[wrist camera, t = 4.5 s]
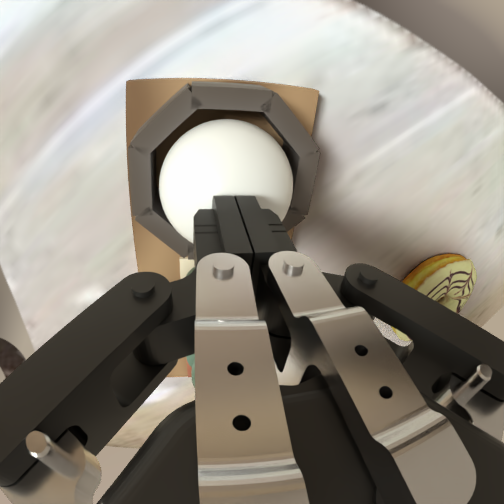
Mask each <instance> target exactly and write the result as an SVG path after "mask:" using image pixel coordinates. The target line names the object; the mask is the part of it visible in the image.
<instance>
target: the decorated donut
mask: <svg viewBox="0 0 504 504" xmlns="http://www.w3.org/2000/svg"><path fill="white" fill-rule="evenodd" d="M476 278H477V275H476V271H475V268H474V265H473V263H472V261H471V260H470V259H466V258H464V257H463V256H461V255H457V254H450V253H449V254H443V255H439V256H435V257H432V258H429V259H427V260H426V261H424V262H423V263H421V264H420V265H419V266H418V267H416V268H415V269H414V270H413V271H412V272H411V273H410V274H409V275H408V276H407V277H405V279H404V280H403V281H402V282H403V283H404V284H406V285H408V286H410V287H412V288H413V289H415V290H417V291H419V292H421V293H422V294H424V295H426V296H428V297H429V298H431V299H433V300H435V301H436V302H438V303H440V304H442V305H443V306H445V307H447V308H449V309H450V310H452V311H454V312H455V313H457V314H458V313H459V312H460V311H461V309H462V307H463V306H464V304H465V303H466V301H467V300H468V299H469V297H470V295H471V293H472V291H473V287H474V285H475V282H476ZM391 327H392V326H391ZM392 329H393V331H394V332H395V333H396V334H397V336H398V338H399V339H401V340H404V341H412V339H411V338H410V337H409V336H407V335H406V334H404V333H402V332H400V331H399V330H397V329H395V328H394V327H392Z"/></svg>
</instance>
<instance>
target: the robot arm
mask: <svg viewBox="0 0 504 504" xmlns="http://www.w3.org/2000/svg"><path fill="white" fill-rule="evenodd" d="M193 253H194V266H195V269H194V270H193V272H192V273H190V274H189V275H188V276H186V277H184V278H182V279H179V280H176V281H173V282H169V281H168V279H167V278H165V277H164V276H162V275H161V274H158V273H155V272H138V273H134V274H131V275H129V276H127V277H126V278H124V279H123V280H122V281H120V282H119V283H118V284H116V285H115V286H114V287H113V288H111V289H110V290H109V291H108V292H106V293H105V294H104V295H103V296H101V297H100V298H99V299H98V300H96V301H95V302H94V303H93V304H91V305H90V306H89V307H88V308H87V309H85V310H84V311H83V312H82V313H80V314H79V315H78V316H77V317H76V318H74V319H73V320H72V321H71V322H70V323H68V324H67V325H66V326H65V327H64V328H62V329H61V330H60V331H59V332H58V333H57V334H55V335H54V336H53V337H52V338H51V339H50V340H48V341H47V342H46V343H45V344H44V345H43V346H41V347H40V348H39V349H38V350H37V351H36V352H35V353H33V354H32V355H31V356H30V357H29V358H28V359H27V360H26V361H24V362H23V363H22V364H21V365H20V366H19V367H18V368H17V369H16V370H14V371H13V372H12V373H11V374H10V375H9V376H8V377H7V378H6V379H5V380H4V381H3V382H1V383H0V489H1V490H2V491H3V493H4V494H5V495H6V496H7V498H8V499H9V500H10V501H11V503H12V504H93V503H92V501H93V496H94V493H95V491H96V489H97V488H98V486H99V484H100V481H101V476H102V475H101V474H102V473H101V467H100V464H99V462H98V460H97V458H96V455H97V454H98V453H99V452H100V451H101V450H102V449H103V448H104V446H105V445H106V444H107V443H108V442H109V441H110V440H111V439H112V438H113V436H114V435H115V434H116V433H117V432H118V431H119V430H120V429H121V427H122V426H123V425H124V424H125V423H126V422H127V421H128V420H129V418H130V417H131V416H132V415H133V414H134V413H135V412H136V411H137V409H138V408H139V407H140V406H141V405H142V404H143V403H144V401H145V400H146V399H147V398H148V397H149V396H150V395H151V393H152V392H153V391H154V390H155V389H156V388H157V387H158V385H159V384H160V383H161V382H162V381H163V380H164V379H165V377H166V376H167V375H168V374H169V373H170V372H171V371H172V369H173V368H174V367H175V366H176V364H177V362H178V359H180V358H183V357H186V356H189V355H192V354H195V400H194V401H192V402H189V403H187V404H185V405H183V406H181V407H180V408H178V409H176V410H175V411H173V412H172V413H171V414H169V415H168V416H167V417H166V418H165V419H164V420H163V421H162V422H161V423H160V424H159V425H158V426H157V427H156V428H155V430H154V431H153V432H152V434H151V435H150V436H149V437H148V439H147V440H146V441H145V443H144V444H143V445H142V447H141V448H140V449H139V451H138V452H137V453H136V454H135V456H134V457H133V458H132V460H131V461H130V462H129V463H128V465H127V466H126V467H125V469H124V470H123V471H122V472H121V474H120V475H119V476H118V478H117V479H116V480H115V481H114V483H113V484H112V485H111V486H110V488H109V489H108V490H107V491H106V493H105V494H104V495H103V496H102V498H101V499H100V500H99V501H98V503H97V504H504V443H503V442H501V440H502V435H503V430H504V342H503V341H502V340H500V339H499V338H497V337H495V336H494V335H492V334H490V333H489V332H487V331H486V330H484V329H482V328H481V327H479V326H477V325H476V324H474V323H472V322H471V321H469V320H467V319H466V318H464V317H462V316H460V315H459V314H457V313H455V312H454V311H452V310H450V309H449V308H447V307H445V306H443V305H442V304H440V303H438V302H436V301H435V300H433V299H431V298H429V297H428V296H426V295H424V294H422V293H421V292H419V291H417V290H415V289H413V288H412V287H410V286H408V285H406V284H404V283H403V282H401V281H399V280H397V279H395V278H394V277H392V276H390V275H388V274H386V273H384V272H383V271H381V270H379V269H377V268H375V267H373V266H370V265H367V264H353V265H350V266H349V267H348V268H347V269H346V272H345V275H344V276H341V275H335V274H329V273H324V272H321V271H320V269H319V268H318V266H317V265H316V263H315V262H314V261H313V260H312V259H311V258H309V257H308V256H306V255H304V254H302V253H299V252H297V250H296V248H295V246H294V245H293V243H292V241H291V239H290V237H289V235H288V233H287V232H286V229H285V227H284V226H283V224H282V222H281V220H280V218H279V216H278V215H277V214H275V213H274V212H273V211H271V210H270V209H261V207H260V205H259V203H258V201H257V199H256V197H255V196H241V195H235V196H213V199H212V209H199V210H198V211H197V212H196V214H195V215H194V218H193ZM375 317H376V318H378V319H380V320H382V321H383V322H385V323H387V324H388V325H390V326H392V327H394V328H395V329H397V330H399V331H400V332H402V333H404V334H406V335H407V336H409V337H410V338H411V339H412V342H411V344H410V345H408V346H405V347H402V346H399V345H397V344H395V343H394V342H392V341H390V340H388V339H387V338H385V337H384V336H383V335H382V333H381V332H380V330H379V329H378V327H377V326H376V324H375V323H374V322H373V320H374V318H375Z"/></svg>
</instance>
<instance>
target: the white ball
mask: <svg viewBox="0 0 504 504" xmlns="http://www.w3.org/2000/svg"><path fill="white" fill-rule="evenodd" d="M292 193H293V176H292V170H291V167H290V164H289V161H288V158H287V156H286V154H285V152H284V151H283V149H282V148H281V146H280V145H279V144H278V142H277V141H276V140H275V139H274V138H273V137H272V136H271V135H269V134H268V133H267V132H266V131H264V130H263V129H261V128H259V127H258V126H256V125H253V124H251V123H248V122H245V121H241V120H234V119H219V120H212V121H209V122H205V123H202V124H200V125H198V126H196V127H194V128H192V129H191V130H189V131H187V132H186V133H185V134H184V135H182V136H181V137H180V138H179V139H178V140H177V141H176V142H175V143H174V145H173V146H172V147H171V149H170V150H169V152H168V154H167V156H166V158H165V160H164V162H163V165H162V168H161V172H160V177H159V194H160V200H161V204H162V207H163V210H164V212H165V214H166V216H167V218H168V220H169V221H170V223H171V224H172V226H173V227H174V228H175V229H176V231H177V232H178V233H179V234H181V235H182V236H183V237H184V238H186V239H187V240H188V241H190V242H191V243H193V218H194V215H195V214H196V212H197V211H198V210H199V209H212V199H213V196H235V195H241V196H255V197H256V199H257V201H258V203H259V205H260V207H261V209H270V210H271V211H273V212H274V213H275V214H277V215H278V216H279V218H280V220H281V222H282V221H283V219H284V217H285V216H286V214H287V211H288V209H289V206H290V203H291V199H292Z"/></svg>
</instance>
